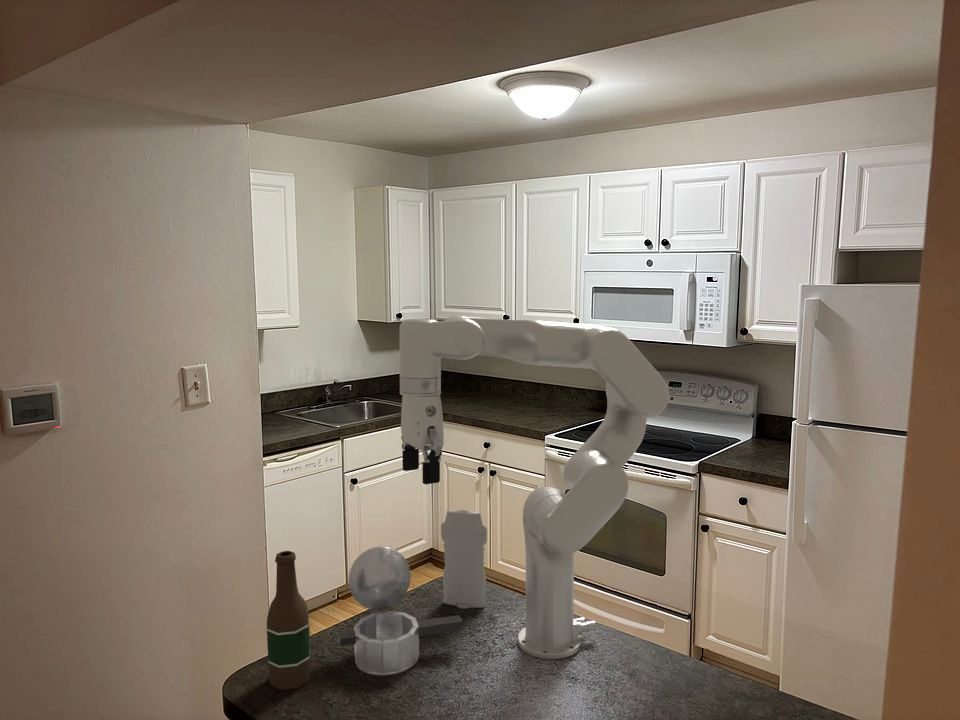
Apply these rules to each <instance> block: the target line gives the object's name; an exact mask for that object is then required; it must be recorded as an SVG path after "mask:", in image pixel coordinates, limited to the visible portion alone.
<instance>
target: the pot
mask: <svg viewBox="0 0 960 720" xmlns="http://www.w3.org/2000/svg"><path fill="white" fill-rule="evenodd" d="M370 613H371V614H369V615H366V616H364V617H362V618H360V619H359V620H358V621H357V623H356V624H355V625H354V626H353V630H348V631H342V632H338V644H339V646H340V647H343V646H349V645H354V658H355V659H354V661H355V665H357V666H356V667H357V668H358V670H360V671H361V672H363V673H365V674H367V675H372V676H379V677H383V676H393V675H398V674H401V673H403V672H407V671H408V670H410V669H412V667H414V666H415V665H416V663H417V662H418V660H419V656H420V638H419V637H425V636H430V635H431V636H432V635H437V634H443V633H449V632H450V633H451V632H457V631H458V632H459V631H463V624H464V623H463V619H462V618H461V616H460V615H459V614H457V615H449V616H443V617H437V618H430V619H422V620H417V619H416V617H414V616H412V615H410V614H408V613H406V612H400V611H392V608H390V609H389V608H387V609H383V610H373V611H371V612H370Z"/></svg>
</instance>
